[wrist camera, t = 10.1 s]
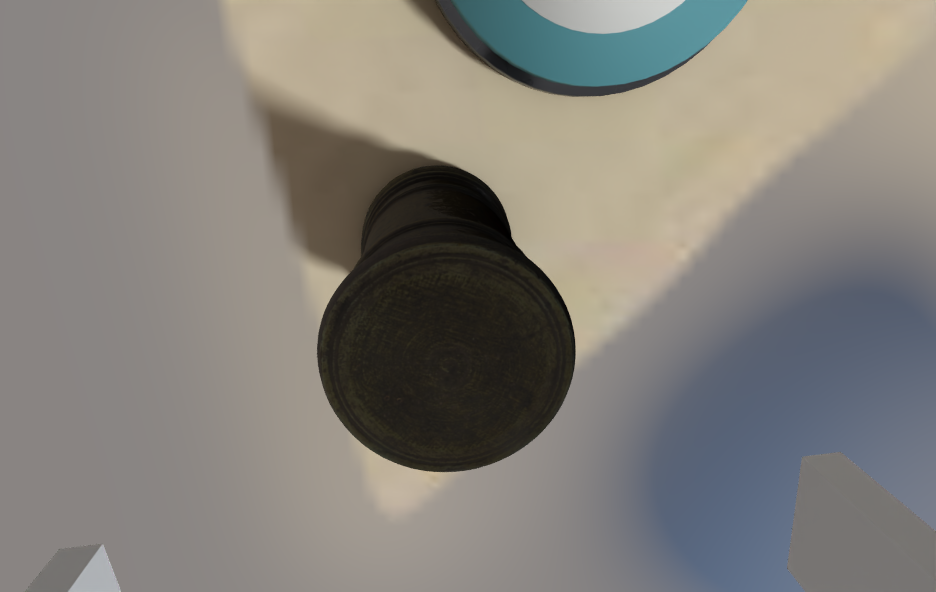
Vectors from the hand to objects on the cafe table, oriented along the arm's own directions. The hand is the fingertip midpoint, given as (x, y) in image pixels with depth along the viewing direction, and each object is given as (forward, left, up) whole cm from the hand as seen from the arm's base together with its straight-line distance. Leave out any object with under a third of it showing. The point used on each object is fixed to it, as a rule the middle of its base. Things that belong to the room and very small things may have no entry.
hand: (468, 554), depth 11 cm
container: (0, 0, -26) cm, 26 cm away
